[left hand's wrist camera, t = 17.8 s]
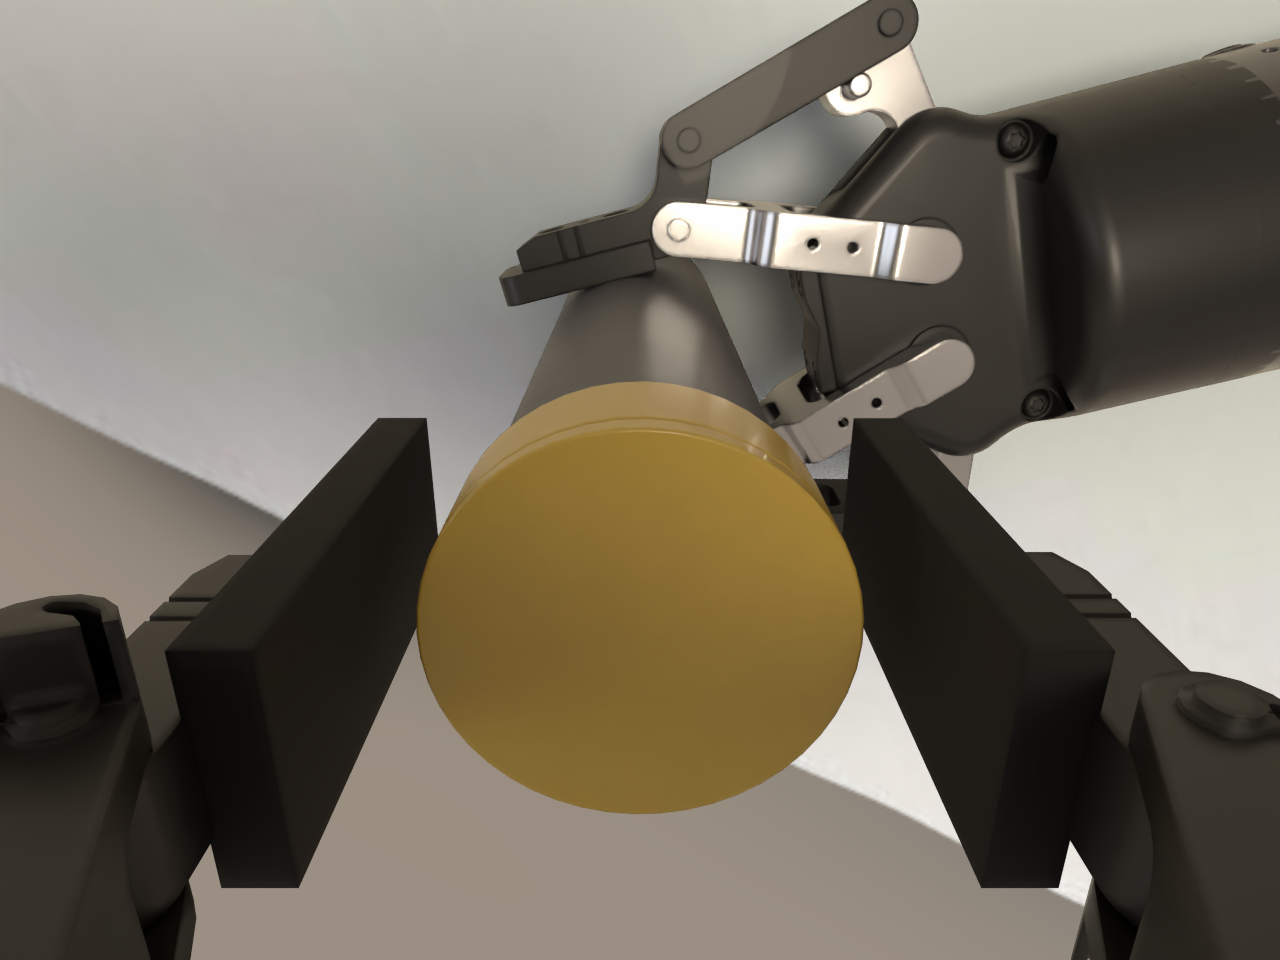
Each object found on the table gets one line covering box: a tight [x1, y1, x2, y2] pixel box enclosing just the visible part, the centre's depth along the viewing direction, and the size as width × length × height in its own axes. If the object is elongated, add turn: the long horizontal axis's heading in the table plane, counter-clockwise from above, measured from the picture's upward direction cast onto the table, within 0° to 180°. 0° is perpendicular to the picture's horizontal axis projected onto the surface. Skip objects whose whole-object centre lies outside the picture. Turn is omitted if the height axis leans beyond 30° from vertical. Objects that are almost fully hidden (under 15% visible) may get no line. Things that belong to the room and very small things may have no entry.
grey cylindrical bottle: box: [511, 256, 769, 426], centre depth 19 cm, size 5×5×19 cm
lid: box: [417, 381, 864, 814], centre depth 11 cm, size 5×5×2 cm
